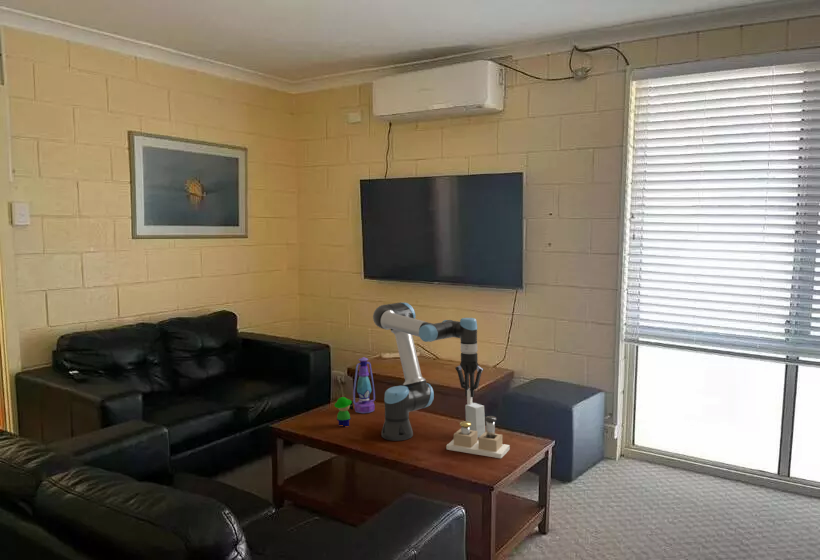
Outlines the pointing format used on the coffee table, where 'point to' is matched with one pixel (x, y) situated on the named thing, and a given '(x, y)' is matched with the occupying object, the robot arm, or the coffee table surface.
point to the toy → (343, 410)
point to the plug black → (490, 426)
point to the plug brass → (465, 427)
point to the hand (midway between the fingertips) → (469, 403)
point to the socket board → (478, 444)
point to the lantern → (363, 388)
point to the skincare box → (476, 417)
